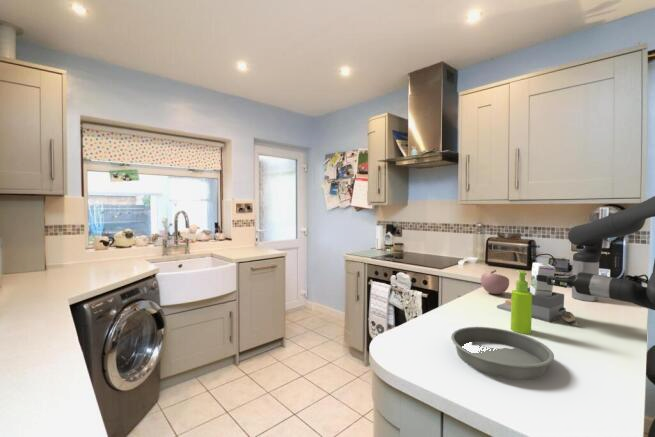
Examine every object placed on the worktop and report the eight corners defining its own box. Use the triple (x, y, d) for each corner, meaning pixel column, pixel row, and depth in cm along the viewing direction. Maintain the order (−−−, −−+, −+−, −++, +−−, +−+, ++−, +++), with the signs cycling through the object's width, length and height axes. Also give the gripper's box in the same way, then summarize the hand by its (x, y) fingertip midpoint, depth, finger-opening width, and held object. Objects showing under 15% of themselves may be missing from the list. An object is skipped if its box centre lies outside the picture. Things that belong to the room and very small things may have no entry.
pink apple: (509, 292, 152) (510, 269, 151) (508, 298, 142) (508, 273, 141) (482, 289, 158) (482, 266, 158) (479, 294, 148) (479, 270, 148)
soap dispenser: (527, 327, 108) (528, 270, 108) (533, 334, 102) (535, 274, 101) (508, 325, 110) (509, 268, 110) (512, 332, 104) (514, 272, 103)
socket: (512, 303, 135) (512, 283, 135) (563, 316, 119) (564, 294, 119) (496, 307, 129) (497, 287, 129) (548, 322, 113) (549, 299, 113)
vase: (561, 326, 110) (561, 309, 110) (555, 322, 115) (555, 305, 115) (580, 327, 108) (579, 310, 108) (573, 323, 113) (572, 306, 113)
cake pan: (577, 375, 78) (578, 357, 78) (498, 391, 71) (499, 372, 71) (498, 336, 102) (498, 322, 101) (433, 345, 95) (433, 330, 94)
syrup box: (551, 304, 118) (556, 267, 116) (533, 302, 119) (538, 265, 117) (544, 299, 123) (549, 263, 122) (527, 297, 124) (532, 261, 123)
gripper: (603, 272, 110) (551, 264, 124) (587, 276, 102) (533, 268, 116) (602, 293, 110) (550, 283, 124) (586, 299, 103) (532, 288, 116)
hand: (542, 276), depth 120 cm, fingers open, 8 cm apart
